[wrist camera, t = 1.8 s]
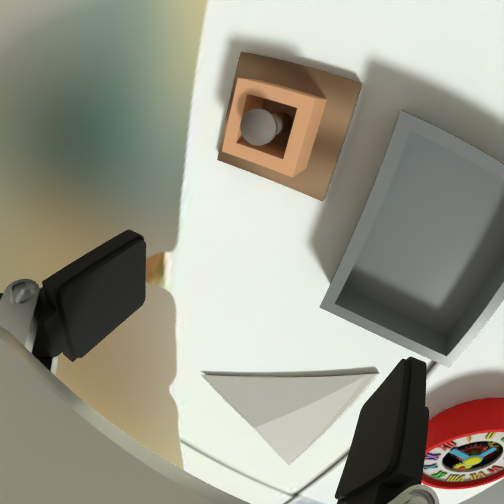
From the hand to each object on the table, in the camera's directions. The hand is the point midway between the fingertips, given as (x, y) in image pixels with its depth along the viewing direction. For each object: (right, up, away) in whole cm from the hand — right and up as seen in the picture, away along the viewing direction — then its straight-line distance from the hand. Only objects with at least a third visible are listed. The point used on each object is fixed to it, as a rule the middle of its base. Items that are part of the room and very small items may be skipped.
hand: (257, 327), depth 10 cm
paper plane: (+3, -21, +39) cm, 44 cm away
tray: (+18, +3, +17) cm, 25 cm away
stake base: (+3, +15, +19) cm, 24 cm away
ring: (+3, +15, +18) cm, 24 cm away
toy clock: (+35, -26, +24) cm, 50 cm away
